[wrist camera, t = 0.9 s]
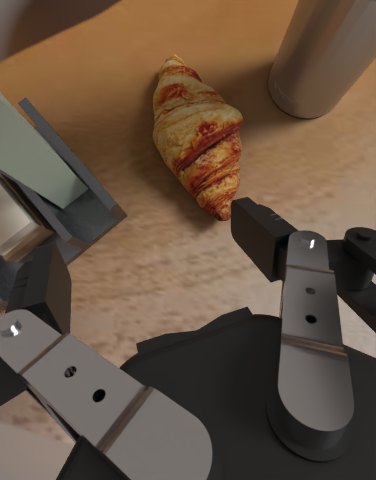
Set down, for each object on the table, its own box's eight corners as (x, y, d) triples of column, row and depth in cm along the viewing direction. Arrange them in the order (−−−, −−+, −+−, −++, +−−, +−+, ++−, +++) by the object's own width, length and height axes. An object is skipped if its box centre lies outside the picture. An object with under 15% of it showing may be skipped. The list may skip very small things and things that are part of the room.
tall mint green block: (61, 157, 32) (-58, 33, 16) (88, 188, 32) (-8, 91, 16) (36, 176, 32) (-111, 68, 16) (63, 208, 31) (-62, 130, 15)
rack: (48, 124, 34) (23, 94, 28) (127, 216, 32) (115, 201, 27) (-59, 204, 32) (-108, 188, 27) (19, 305, 30) (-17, 309, 25)
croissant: (152, 94, 39) (112, 60, 31) (215, 47, 35) (187, -4, 27) (202, 237, 35) (171, 235, 28) (280, 203, 31) (267, 191, 24)
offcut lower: (11, 179, 32) (0, 172, 30) (54, 232, 31) (45, 228, 29) (-26, 207, 31) (-40, 202, 29) (17, 262, 30) (5, 260, 28)
